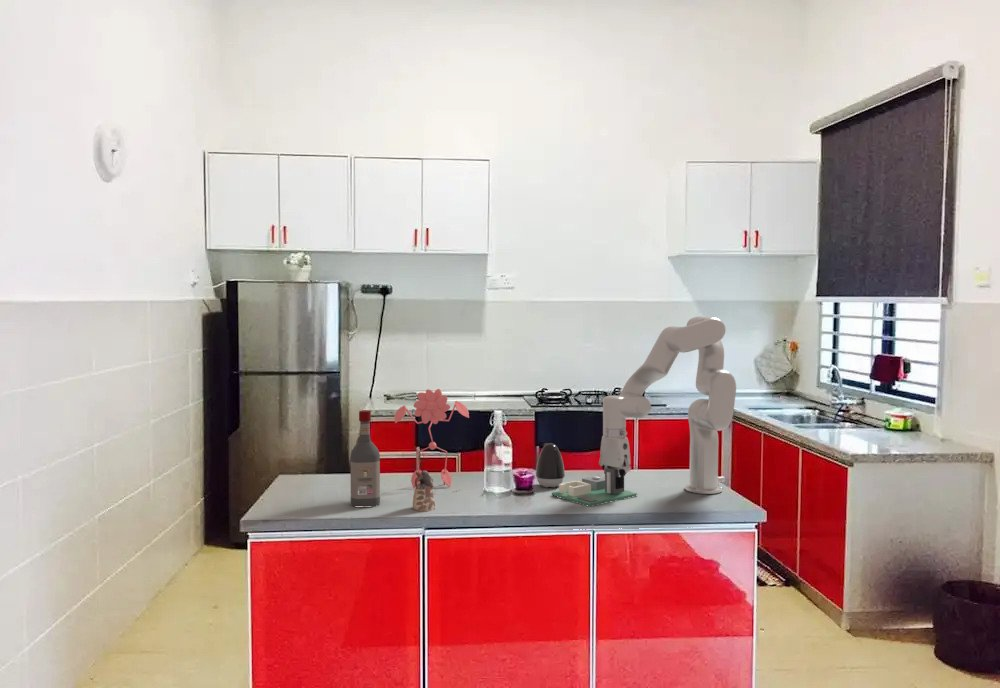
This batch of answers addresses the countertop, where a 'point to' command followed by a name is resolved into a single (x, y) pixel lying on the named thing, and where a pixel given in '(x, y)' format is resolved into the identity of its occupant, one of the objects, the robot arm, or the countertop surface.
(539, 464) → the dark egg-shaped speaker
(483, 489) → the countertop surface
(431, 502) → the figurine
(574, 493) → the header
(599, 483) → the grey flat block
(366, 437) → the liquor
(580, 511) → the countertop surface
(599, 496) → the board
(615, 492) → the plug
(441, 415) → the figurine
